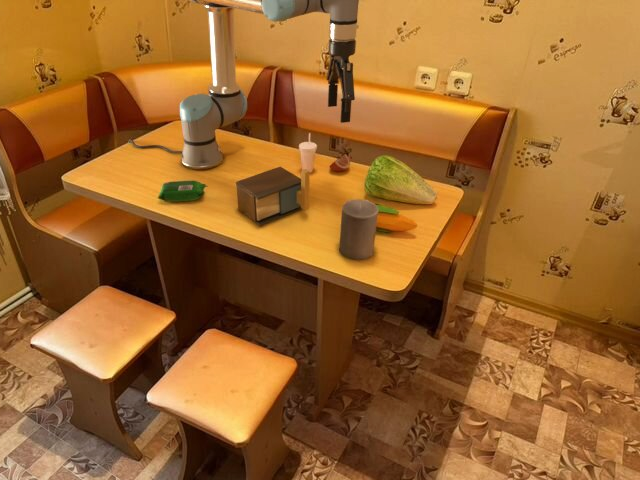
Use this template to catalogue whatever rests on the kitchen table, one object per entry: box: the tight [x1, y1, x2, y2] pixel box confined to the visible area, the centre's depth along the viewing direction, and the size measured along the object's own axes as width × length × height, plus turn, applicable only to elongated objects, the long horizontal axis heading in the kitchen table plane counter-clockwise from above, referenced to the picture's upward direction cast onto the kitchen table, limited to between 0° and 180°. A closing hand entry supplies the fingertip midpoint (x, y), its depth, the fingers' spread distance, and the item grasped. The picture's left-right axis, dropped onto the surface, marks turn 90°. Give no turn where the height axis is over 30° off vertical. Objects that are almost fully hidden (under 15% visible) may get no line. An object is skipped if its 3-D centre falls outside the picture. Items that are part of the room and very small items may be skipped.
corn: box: [374, 203, 418, 233], centre depth 146 cm, size 7×8×20 cm
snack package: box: [157, 180, 208, 203], centre depth 163 cm, size 7×16×5 cm, turn 94°
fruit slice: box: [329, 153, 351, 172], centre depth 177 cm, size 8×7×5 cm
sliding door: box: [280, 169, 310, 214], centre depth 150 cm, size 5×8×14 cm, turn 126°
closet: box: [235, 166, 303, 227], centre depth 155 cm, size 12×17×10 cm
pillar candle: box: [338, 198, 378, 261], centre depth 135 cm, size 10×10×15 cm
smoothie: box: [298, 132, 318, 174], centre depth 175 cm, size 6×6×14 cm
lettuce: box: [363, 154, 438, 205], centre depth 158 cm, size 14×23×14 cm
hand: (338, 113), depth 151 cm, fingers open, 13 cm apart
